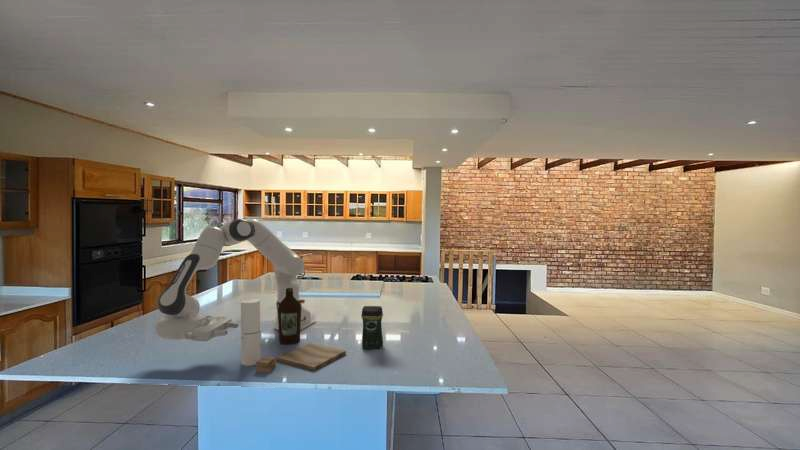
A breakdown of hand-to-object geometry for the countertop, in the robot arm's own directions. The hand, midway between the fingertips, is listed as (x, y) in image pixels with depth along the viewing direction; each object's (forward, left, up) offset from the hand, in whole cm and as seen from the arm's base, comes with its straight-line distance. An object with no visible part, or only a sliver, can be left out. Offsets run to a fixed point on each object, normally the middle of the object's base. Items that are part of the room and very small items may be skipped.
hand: (232, 329), depth 154 cm
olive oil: (-29, +2, -14) cm, 32 cm away
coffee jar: (-42, +40, -14) cm, 60 cm away
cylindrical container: (-3, +7, -14) cm, 16 cm away
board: (-19, +25, -13) cm, 34 cm away
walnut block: (-1, +18, -14) cm, 22 cm away
